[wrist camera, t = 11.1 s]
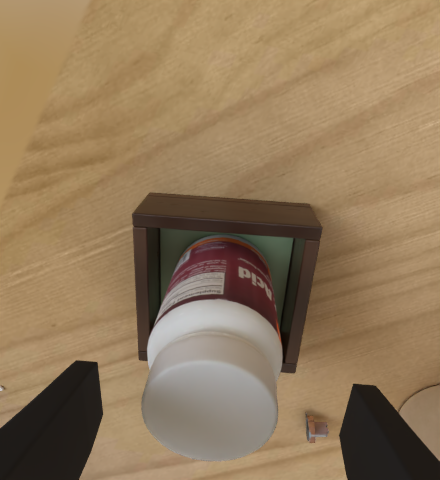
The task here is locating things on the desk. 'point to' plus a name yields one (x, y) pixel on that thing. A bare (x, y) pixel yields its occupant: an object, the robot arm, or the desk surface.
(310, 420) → the figurine
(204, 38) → the desk surface
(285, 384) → the desk surface
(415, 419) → the candle
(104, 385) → the desk surface
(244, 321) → the pill bottle
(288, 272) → the dark brown square box
